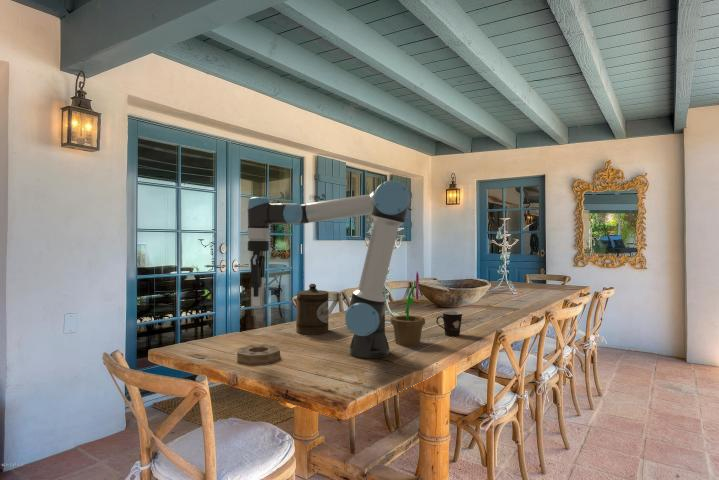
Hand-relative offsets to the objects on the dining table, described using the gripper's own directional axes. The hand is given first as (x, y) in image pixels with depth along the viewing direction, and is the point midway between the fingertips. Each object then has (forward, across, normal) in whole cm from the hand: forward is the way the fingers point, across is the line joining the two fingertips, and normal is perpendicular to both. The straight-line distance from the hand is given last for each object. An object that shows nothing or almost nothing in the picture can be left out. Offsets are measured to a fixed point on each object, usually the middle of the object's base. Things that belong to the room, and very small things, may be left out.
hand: (257, 304), depth 165 cm
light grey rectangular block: (+1, 0, 0) cm, 1 cm away
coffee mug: (+19, -37, +78) cm, 88 cm away
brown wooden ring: (+20, 0, 0) cm, 20 cm away
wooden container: (+20, -44, +16) cm, 51 cm away
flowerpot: (+19, -22, +57) cm, 65 cm away
